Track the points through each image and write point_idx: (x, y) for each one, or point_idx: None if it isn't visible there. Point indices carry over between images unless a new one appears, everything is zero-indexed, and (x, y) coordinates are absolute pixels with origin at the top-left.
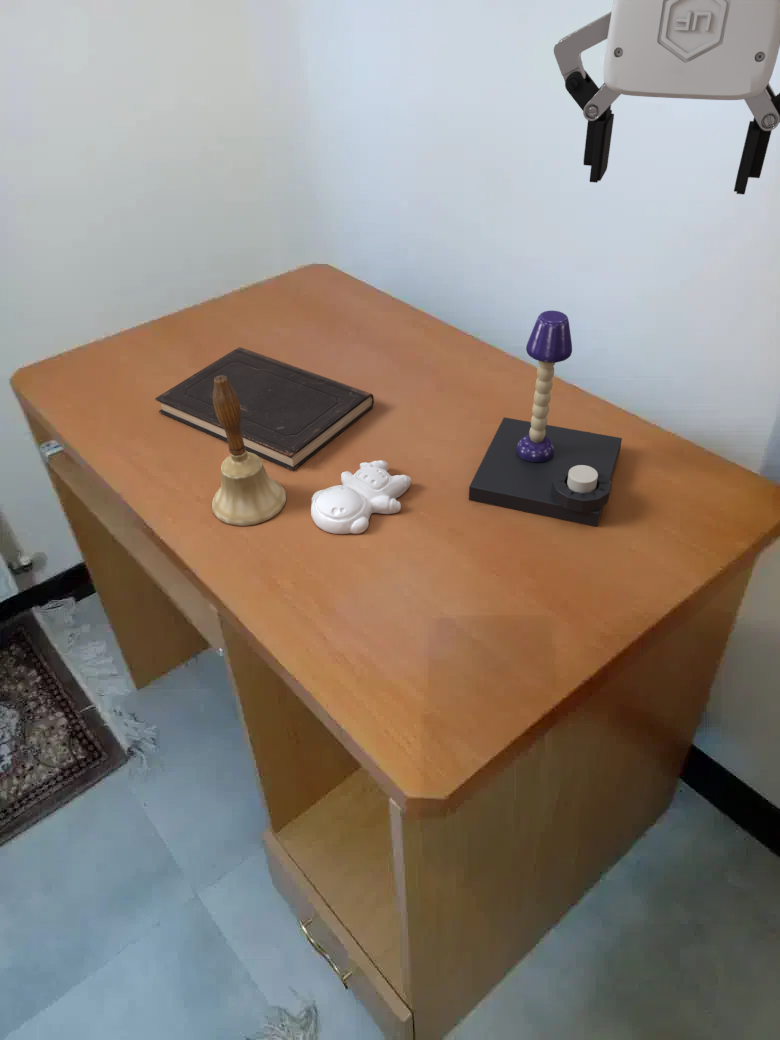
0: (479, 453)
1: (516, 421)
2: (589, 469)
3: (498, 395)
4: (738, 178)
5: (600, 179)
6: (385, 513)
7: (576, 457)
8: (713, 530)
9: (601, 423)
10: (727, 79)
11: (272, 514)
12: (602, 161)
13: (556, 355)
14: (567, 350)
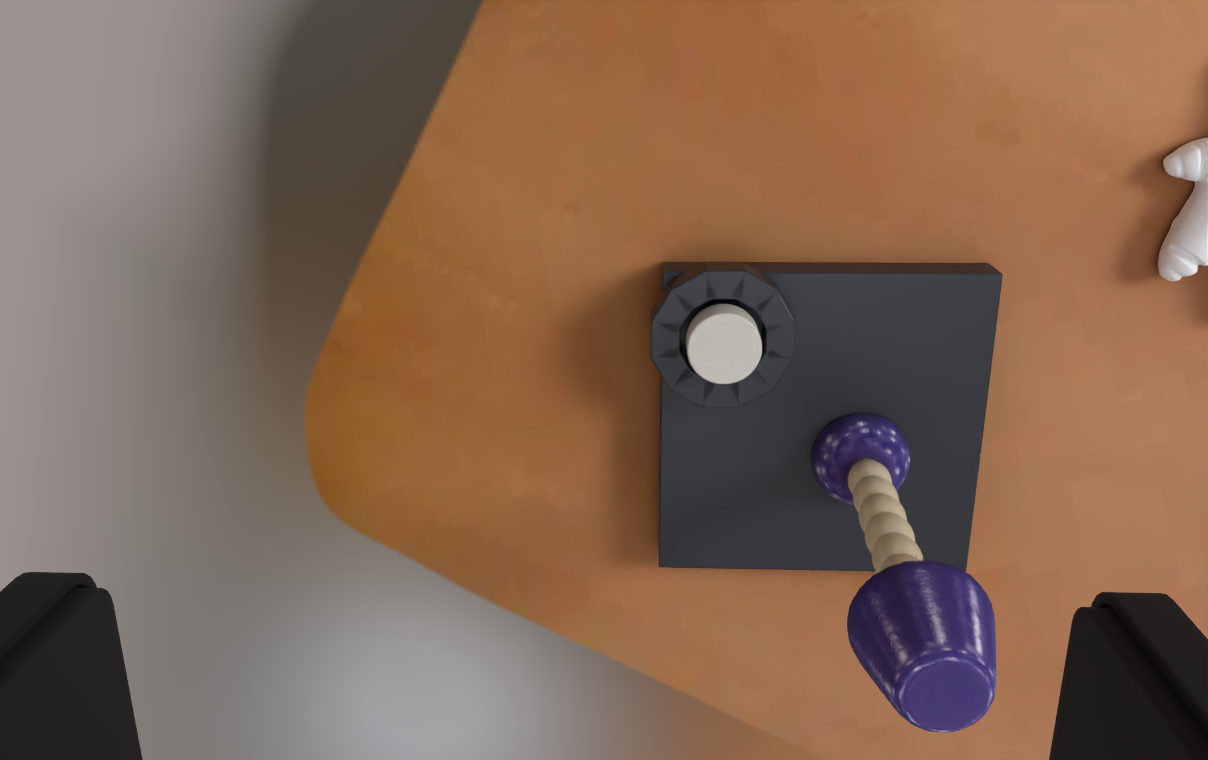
0: (997, 447)
1: None
2: (712, 370)
3: None
4: (41, 628)
5: (1076, 624)
6: (1199, 139)
7: (754, 464)
8: (411, 332)
9: (718, 639)
10: None
11: None
12: (1139, 699)
13: (892, 579)
14: (862, 610)
